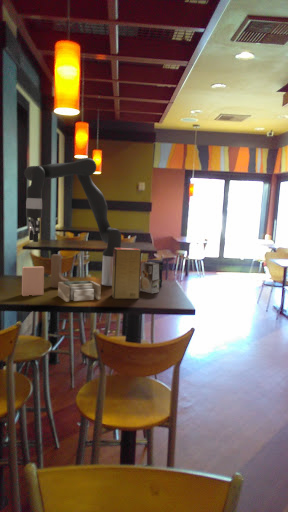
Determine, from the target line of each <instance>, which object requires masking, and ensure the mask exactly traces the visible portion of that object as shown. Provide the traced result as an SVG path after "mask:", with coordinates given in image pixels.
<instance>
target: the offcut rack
mask: <svg viewBox="0 0 288 512" xmlns="http://www.w3.org/2000/svg"><path fill="white" fill-rule="evenodd" d="M101 290H102V284H99V283H97V282H95V281H93V280H80V281H79V280H75V281H74V280H73V281H69V282H58V288H57V296H58V297H59V298H60V299H62V300H63V301H64V302H66V303H67V302H69V303H70V301H74V302H77V301H80V302H81V301H90V300H91V301H93V300H95V299H96V300H99V301H100V300H101V295H102V293H101V292H102V291H101Z"/></svg>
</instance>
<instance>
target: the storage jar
mask: <svg viewBox="0 0 288 512" xmlns="http://www.w3.org/2000/svg"><path fill="white" fill-rule="evenodd" d="M146 262H152V263H158V264H160V277H159V288H162V286H163V285H162V283H163V270H164V261H163V260H159V259H147V260H146Z"/></svg>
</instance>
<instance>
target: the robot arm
mask: <svg viewBox="0 0 288 512" xmlns="http://www.w3.org/2000/svg"><path fill="white" fill-rule="evenodd" d="M96 171H97V164H96V161H95V160H94V159H92V157H91V158H90V157H83V158H78V159H76V160H75V161H74V162H73V161H72V162H59V163H49V164H45V165H31V166H28V167H26V168H25V169H24V171H23V174H24V177H25V178H26V179H27V180H28V181H30V182H31V183H30V185H28V186H27V189H26V201H25V205H26V206H25V217H26V218H28V219H27V221H28V222H27V223H28V224H27V231H28V233H29V235H28V236H29V237H28V238H29V241H33V242H34V243H38V242H39V234H40V233H41V221H40V220H39V219H41V218H43V189H44V188H43V187H44V184H45V180H46V179H47V180H52V179H58V178H64V177H68V176H74V175H75V176H76V177H77V180H78V181H79V183H80V184H81V187H82V190H83V192H84V194H85V197H86V199H87V201H88V205H89V207H90V209H91V211H92V213H93V217H94V219H95V222H96V225H97V227H98V231H99V235H100V238H101V240H102V242H104V243H105V244H107V246H106V249H104V250H103V251H102V263H101V264H102V268H101V286H105V287H106V286H107V287H112V274H113V251H114V248H122V246H121V245H122V233H121V231H120V229H118V228H113V227H111V225H110V223H109V220H108V203H107V200H106V199H105V196H104V194H103V192H102V191H101V190H100V189H99V188H98V187H97V185H95V183H94V182H93V180H92V177H91V176H92V175H94V174H95V172H96Z"/></svg>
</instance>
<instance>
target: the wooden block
mask: <svg viewBox="0 0 288 512" xmlns="http://www.w3.org/2000/svg"><path fill="white" fill-rule="evenodd" d="M62 257H63V256H62V254H59V253H57V254H56V253H53V254H51V257H50V259H51V260H50V288H53V289H54V288H55V289H58V282H70V280H69V279H68V278H65V277H64V276H63V274H62V264H63V263H62V259H63V258H62Z"/></svg>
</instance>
